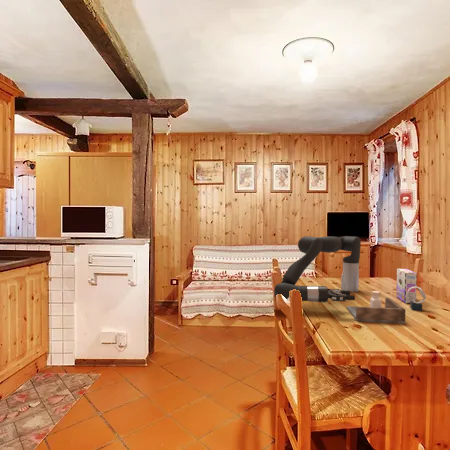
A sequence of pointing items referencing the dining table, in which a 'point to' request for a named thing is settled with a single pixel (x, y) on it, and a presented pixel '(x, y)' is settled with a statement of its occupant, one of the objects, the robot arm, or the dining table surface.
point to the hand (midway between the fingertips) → (352, 295)
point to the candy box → (406, 285)
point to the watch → (416, 305)
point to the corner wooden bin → (379, 313)
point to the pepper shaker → (375, 299)
